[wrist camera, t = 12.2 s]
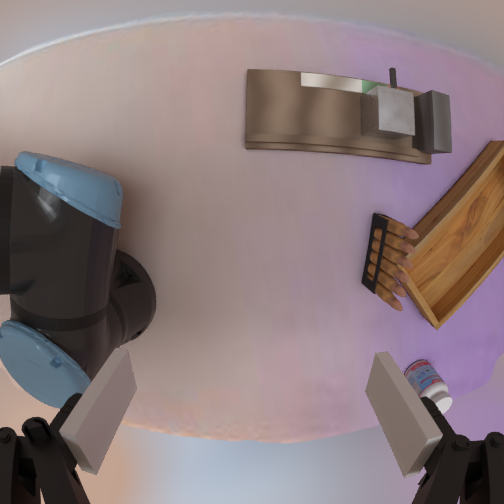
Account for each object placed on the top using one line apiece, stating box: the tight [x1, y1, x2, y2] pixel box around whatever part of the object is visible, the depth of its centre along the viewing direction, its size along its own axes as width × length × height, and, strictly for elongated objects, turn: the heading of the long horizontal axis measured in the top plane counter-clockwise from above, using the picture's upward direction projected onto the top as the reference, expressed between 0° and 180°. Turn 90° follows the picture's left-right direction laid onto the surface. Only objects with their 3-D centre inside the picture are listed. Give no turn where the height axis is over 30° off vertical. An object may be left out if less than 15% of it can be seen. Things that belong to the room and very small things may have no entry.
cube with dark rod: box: [361, 68, 415, 140], centre depth 32 cm, size 5×9×6 cm, turn 179°
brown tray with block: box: [246, 69, 452, 164], centre depth 34 cm, size 27×11×8 cm, turn 89°
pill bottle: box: [405, 360, 452, 414], centre depth 43 cm, size 6×6×11 cm
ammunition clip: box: [362, 213, 419, 311], centre depth 37 cm, size 11×2×12 cm, turn 175°
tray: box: [395, 141, 504, 330], centre depth 39 cm, size 31×15×6 cm, turn 133°
